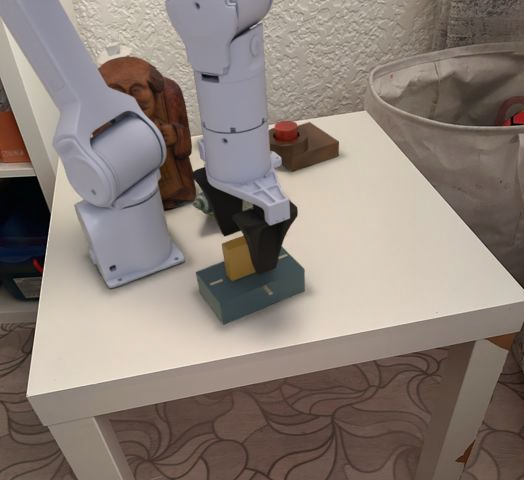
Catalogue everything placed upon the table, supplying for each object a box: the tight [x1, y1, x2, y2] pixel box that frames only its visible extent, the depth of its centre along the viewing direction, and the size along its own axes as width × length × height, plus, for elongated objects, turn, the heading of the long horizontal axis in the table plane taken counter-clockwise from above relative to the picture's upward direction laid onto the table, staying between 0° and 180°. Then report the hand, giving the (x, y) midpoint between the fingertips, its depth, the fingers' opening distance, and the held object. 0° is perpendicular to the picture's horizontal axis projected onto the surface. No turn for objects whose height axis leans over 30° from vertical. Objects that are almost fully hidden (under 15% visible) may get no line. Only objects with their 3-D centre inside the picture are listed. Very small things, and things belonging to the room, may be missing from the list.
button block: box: [269, 121, 340, 172], centre depth 80 cm, size 10×8×4 cm
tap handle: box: [221, 235, 256, 281], centre depth 56 cm, size 5×1×4 cm, turn 119°
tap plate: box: [195, 246, 306, 325], centre depth 59 cm, size 10×9×3 cm
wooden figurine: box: [91, 56, 197, 211], centre depth 68 cm, size 12×6×18 cm, turn 108°
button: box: [273, 120, 298, 141], centre depth 77 cm, size 3×3×2 cm
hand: (248, 250), depth 56 cm, fingers open, 7 cm apart
